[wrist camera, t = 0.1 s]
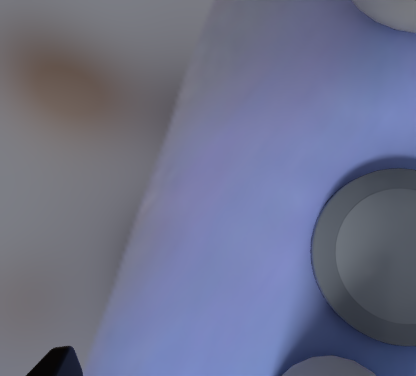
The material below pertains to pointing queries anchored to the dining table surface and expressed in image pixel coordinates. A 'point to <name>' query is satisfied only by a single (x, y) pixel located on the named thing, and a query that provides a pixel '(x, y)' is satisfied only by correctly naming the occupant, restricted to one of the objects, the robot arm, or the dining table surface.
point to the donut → (390, 13)
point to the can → (328, 367)
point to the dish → (370, 255)
